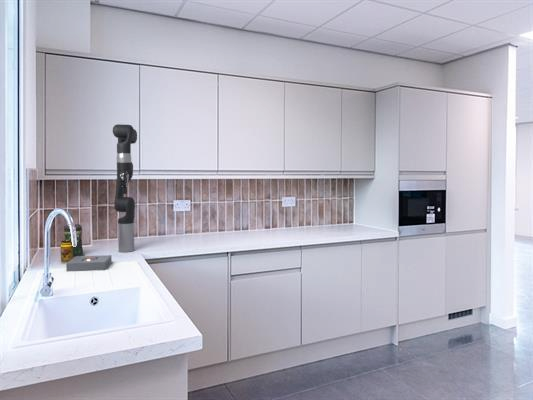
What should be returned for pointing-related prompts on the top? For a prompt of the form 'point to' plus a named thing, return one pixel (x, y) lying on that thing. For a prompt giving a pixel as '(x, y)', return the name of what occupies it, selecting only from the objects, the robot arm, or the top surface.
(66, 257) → the condiment
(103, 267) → the box
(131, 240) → the robot arm
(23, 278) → the top surface
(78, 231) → the green bottle
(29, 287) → the top surface
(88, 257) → the button
